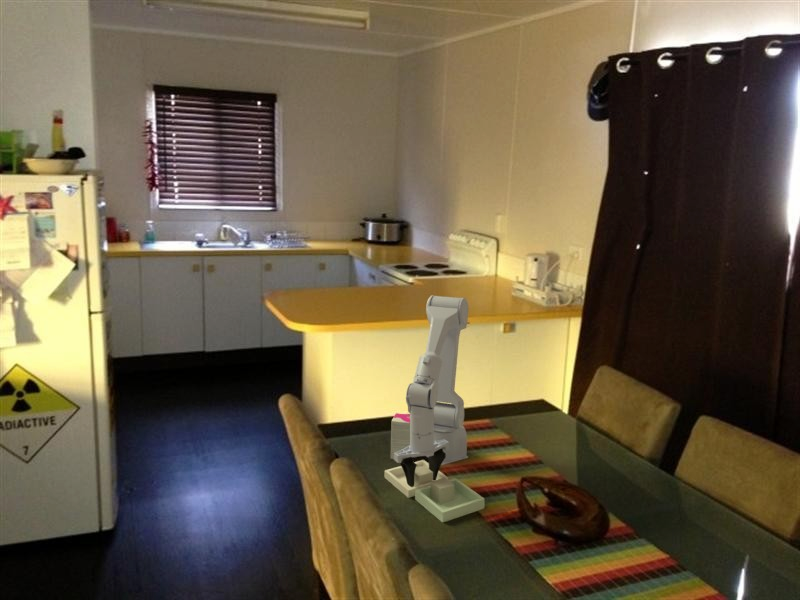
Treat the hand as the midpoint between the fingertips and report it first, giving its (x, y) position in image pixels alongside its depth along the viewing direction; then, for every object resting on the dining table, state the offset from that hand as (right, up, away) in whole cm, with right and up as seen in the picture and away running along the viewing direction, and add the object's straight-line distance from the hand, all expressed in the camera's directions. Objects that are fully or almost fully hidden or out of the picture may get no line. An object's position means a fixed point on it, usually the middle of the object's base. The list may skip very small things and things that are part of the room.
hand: (421, 481), depth 168 cm
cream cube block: (+5, -2, -6) cm, 8 cm away
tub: (+6, -4, -8) cm, 11 cm away
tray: (-1, -1, +2) cm, 3 cm away
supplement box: (-5, +2, +17) cm, 17 cm away
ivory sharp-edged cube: (0, -1, 0) cm, 1 cm away
